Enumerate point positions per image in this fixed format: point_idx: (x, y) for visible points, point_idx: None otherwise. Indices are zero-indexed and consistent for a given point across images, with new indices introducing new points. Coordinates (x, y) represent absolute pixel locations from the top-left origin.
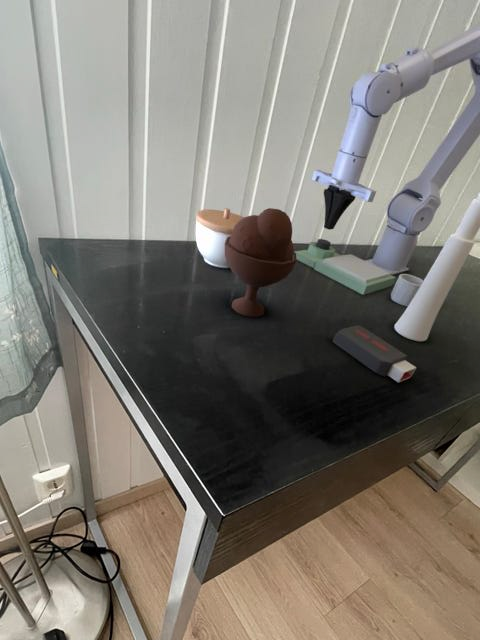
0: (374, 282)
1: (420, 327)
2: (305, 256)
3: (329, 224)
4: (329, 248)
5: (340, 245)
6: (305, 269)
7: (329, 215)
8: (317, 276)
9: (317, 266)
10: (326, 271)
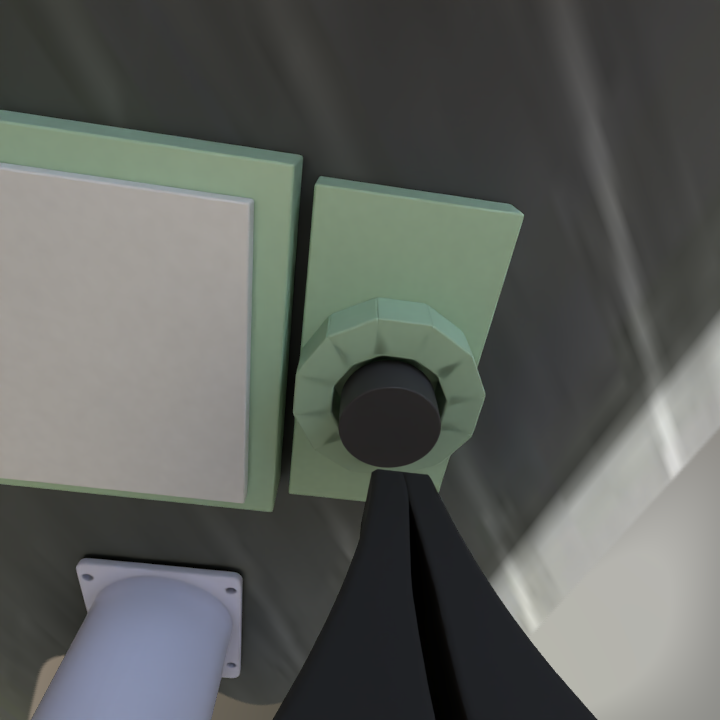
0: None
1: None
2: (417, 206)
3: (377, 495)
4: None
5: None
6: (335, 79)
7: (420, 568)
8: (204, 44)
9: (274, 154)
10: (184, 142)
